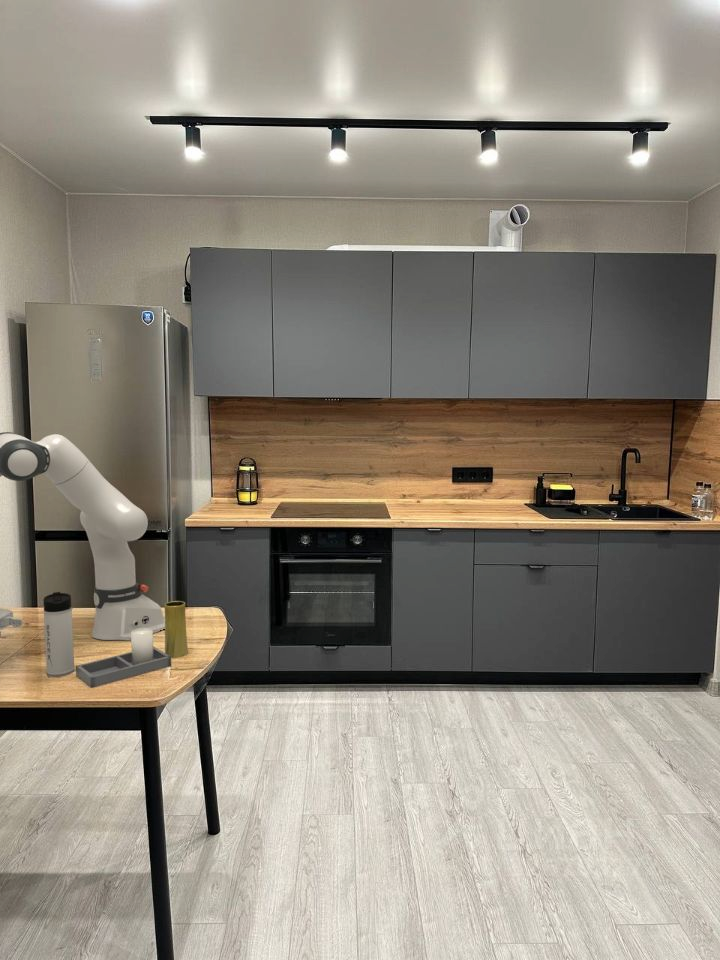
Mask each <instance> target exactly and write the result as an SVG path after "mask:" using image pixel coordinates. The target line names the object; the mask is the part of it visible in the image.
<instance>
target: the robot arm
mask: <svg viewBox="0 0 720 960" xmlns="http://www.w3.org/2000/svg"><path fill="white" fill-rule="evenodd" d="M42 474H44V475H45V476H46V477H47V478H48V479H49V481H51V482H52V484H53V485H54V486H55V487H56V488H57V489H58V491H60V493H61V494H62V495H63V496H64V497H65V498H66V500H68V501H69V503H71V505H73V506H74V507H75V508H77V509H78V510H80V515H79V520H80V521H79V522H80V524H81V526H82V527H83V528H84V530H85V532H86V536H87V539H88V541H89V545H90V549H91V552H92V557H93V563H94V578H95V579H94V580H95V586H94V588H93V590H94V591H93V601H94V606H95V611H94V613H95V614H94V623H93V626H92V627H93V628H92V632H91V637H92V638H94V639H97V640H101V641H102V640H103V641H131V631H132V630H135V629H138V628H151V629H152V630H153V634H154V633H158V632H161V631H160V630H162V631H164V630H163V629H165V616H164V613H163V610H162V606H160V604H158V603H157V602H155V601H154V600H152V599H151V598H149V597H148V596H146V595H144V594H143V593H147V592H148V591H149V586H147V585H146V584H141V583H138V582H137V580H136V559H135V555H134V554H133V553H132V550H131V549H130V547H129V543H128V542H133V541H137V540H138V539H140V538H142V537H143V536H144V534H145V533H146V531H147V530H148V525H149V523H148V521H149V520H148V516H147V515H146V512H145V511H143V510H142V509H141V508H140V507H139V506H136V505H135V504H134V503H133V502H132V501H130V500H129V499H128V498H127V497H126V496H125V495H124V494H123V493H122V492H121V491H119V489H117V488H116V487H115V486H114V485H112V484H111V483H110V482H109V481H108V480H107V479H105V477H104V476H103V475H102V473H101V472H100V471H99V470H98V469H97V467H95V466H94V464H92V462H91V461H90V460H89V458H88V457H87V456H86V455H85V454H84V453H83V452H82V451H81V450H80V448H78V447H77V446H76V445H75V444H74V443H73V442H72V441H70V440H69V439H68V438H67V437H65V436H64V435H61V434H57V433H56V434H55V433H54V434H50V435H46V436H44V437H43V438H41V440H38V441H32V440H30V439H28V438H27V437H25V436H23V435H21V434H19V433H18V434H17V433H16V432H12V431H3V432H0V478H1V477H4V478H5V479H7V480H11V481H15V482H24V481H27V480H31V479H33V478H35V477H37V476H39V475H42ZM23 625H24V623H23V619H22V618H16V617H14V612H13V611H12V610H11V609H7V608H0V638H2V630H4V629H5V628H7V627H11V626H12V628H19V627H21V626H23Z"/></svg>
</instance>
